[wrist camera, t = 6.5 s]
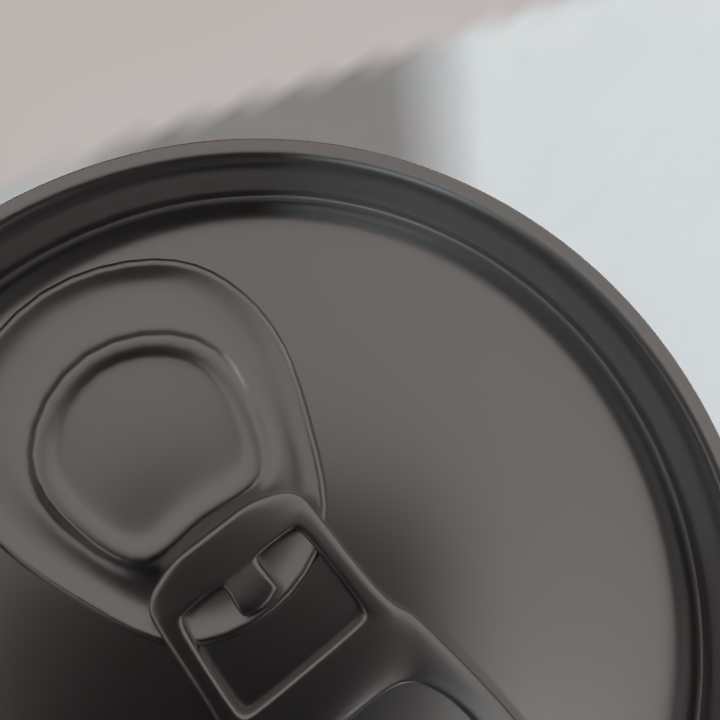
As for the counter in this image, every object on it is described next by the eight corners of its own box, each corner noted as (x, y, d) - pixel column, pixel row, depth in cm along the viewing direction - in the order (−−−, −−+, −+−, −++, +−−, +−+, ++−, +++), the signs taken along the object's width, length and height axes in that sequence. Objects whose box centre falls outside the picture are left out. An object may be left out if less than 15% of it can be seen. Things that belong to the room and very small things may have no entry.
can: (323, 330, 16) (372, -103, 4) (492, 547, 15) (1088, 725, 4) (94, 497, 15) (-682, 518, 3) (265, 740, 14) (79, 1903, 3)
